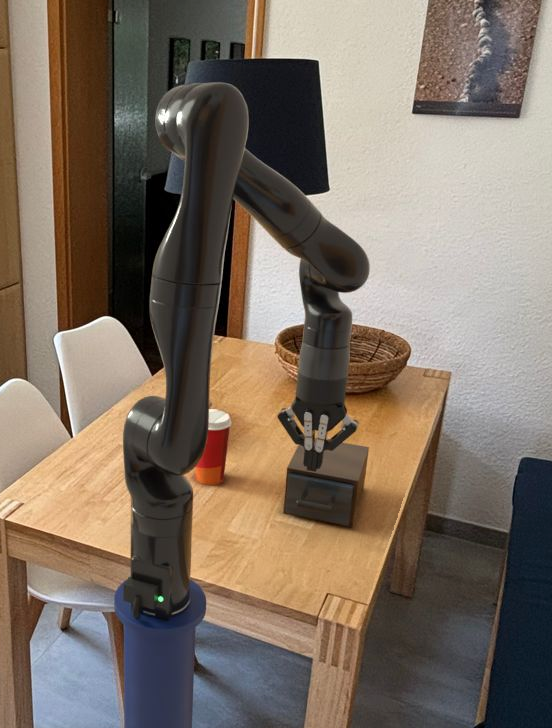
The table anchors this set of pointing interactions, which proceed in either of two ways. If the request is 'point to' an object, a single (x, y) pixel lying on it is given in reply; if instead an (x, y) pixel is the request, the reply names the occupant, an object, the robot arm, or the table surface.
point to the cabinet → (335, 470)
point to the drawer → (319, 498)
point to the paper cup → (214, 449)
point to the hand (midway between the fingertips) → (312, 468)
